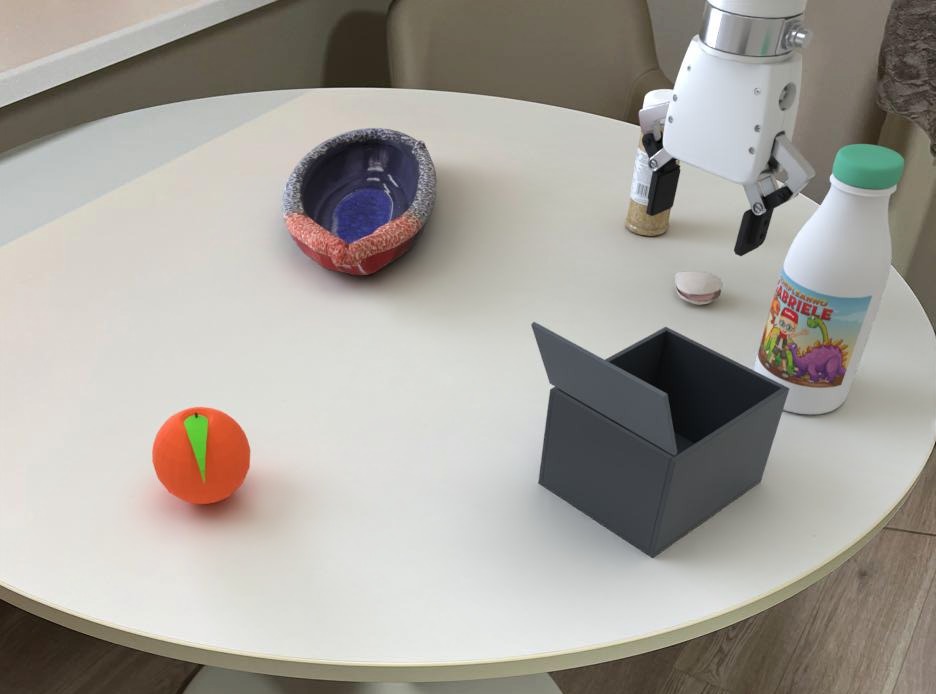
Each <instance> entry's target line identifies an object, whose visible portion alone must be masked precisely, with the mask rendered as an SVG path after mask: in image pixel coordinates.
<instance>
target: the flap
mask: <svg viewBox="0 0 936 694" xmlns="http://www.w3.org/2000/svg"><path fill="white" fill-rule="evenodd" d="M530 325H531V330H532V332H533V335H534V338H535V341H536V344H537V348H538V352H539V354H540V357H541V361H542V364H543V367H544V370H545V374H546V376H547V379H548V382H549V384H550V385H551V386H553V387H557V388H558V389H560V390H562V391H564V392H565V393H567V394H569V395H571V396H572V397H574V398H576V399H577V400H579V401H581V402H583V403H584V404H586V405H588V406H590V407H591V408H593V409H595V410H596V411H598V412H600V413H602V414H603V415H605V416H607V417H608V418H610V419H612V420H614V421H615V422H617V423H619V424H621V425H622V426H624V427H626V428H627V429H629V430H631V431H633V432H634V433H636V434H638V435H640V436H641V437H643V438H645V439H646V440H648V441H650V442H652V443H653V444H655V445H657V446H658V447H660V448H662V449H664V450H665V451H667V452H669V453H671V454H672V455H674V456H675V455H676V454H677V447H676V441H675V436H674V430H673V424H672V418H671V412H670V406H669V400H668V394H667V393H665V392H663V391H661V390H659V389H657V388H656V387H654V386H652V385H650V384H648V383H646V382H645V381H643V380H641V379H639V378H637V377H635V376H633V375H632V374H630V373H628V372H626V371H624V370H622V369H621V368H619V367H617V366H615V365H613V364H611V363H609V362H608V361H606V360H605V359H604V358H602V357H601V356H598V355H597V354H594V353H593V352H591V351H590V350H588V349H585V348H584V347H582V346H580V345H579V344H576V343H574V342H573V341H571V340H569V339H567V338H565V337H563V336H561V335H560V334H558V333H556V332H554V331H552V330H550V329H549V328H546V326H544V325H541V324H540V323H538V322H536V321H532V323H531V324H530Z"/></svg>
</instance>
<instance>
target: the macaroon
mask: <svg viewBox="0 0 936 694" xmlns="http://www.w3.org/2000/svg"><path fill="white" fill-rule="evenodd" d="M674 285H675V290H676V293H677V295H678V297H680V299H681V300H683V301H685V302H687V303H690V304H691V305H698V306H702V305H708V304H710V303H712V302H714V301H716V300H717V299H719V297H720V296H721V293H722V288H723V286H724V285H723V282H722V279H721V278H720V277H718V276H717V275H715V274H712V273H709V272H707V271H699V270H698V271H697V270H692V271H691V270H690V271H679V272H677V273H675V276H674Z"/></svg>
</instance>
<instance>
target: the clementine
mask: <svg viewBox="0 0 936 694" xmlns="http://www.w3.org/2000/svg"><path fill="white" fill-rule="evenodd" d="M151 452H152V456H151V457H152V460H151V461H152V465H153V468H154V471H155V474H156V477H157V479H158V480H159V482H160V483H161V484H162V486H163V487H164V488H165V489H166V490H167V491H168V493H170V494H171V495H173V496H175V497H176V498H177V499H179V500H181V501H183V502H186V503H189V504H195V505H209V504H214V503H218V502H221V501H223V500H225V499H227V498H229V497H230V496H232V495H233V494H234V493H235V492H236V491H237V490H238V489H239V487H241V486H242V484H244V482H245V479H246V478H247V474H248V472H249V470H250V468H251V467H250V466H251V447H250V443H249V439H248V437H247V434H246V433H245V431H244V429H243V428H242V427H241V425H240V424H239V423H238V421H236V420H235V419H234V418H233V417H231V416H230V415H228V414H227V413H226V412H223V411H222V410H219V409H217V408H212V407H206V406H195V407H189V408H185V409H183V410H181V411H178V412H176V413H174V414H173V415H171V416H170V417H169V418H167V420H166V421H164V423H163V424H162V425H161V426H160V427H159V429H158V431H157V433H156V435H155V438H154V441H153V444H152V451H151Z"/></svg>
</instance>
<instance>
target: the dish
mask: <svg viewBox="0 0 936 694" xmlns="http://www.w3.org/2000/svg"><path fill="white" fill-rule="evenodd" d="M436 171H437V170H436V168H435V164H434V162H433V159H432V157H431V155H430V151H429V150H428V148H427V146H426V142H425V141H424V140H417V139H416V138H414V137H413V136H410V135H409V134H407V133H404V132H401V131H398V130H394V129H390V128H382V127H368V128H359V129H358V128H357V129H354V130H350V131H346V132H343V133H340V134H338V135H335V136H332V137H330V138H328V139H326V140H325V141H322V142H321V143H319V144H317V145H316V146H315V147H313V148H312V149H311V150H310V151H309V152H307V153H306V154H305V155H304V156H303V157H302V158H301V160H300V161H299V162H298V163H297V164H296V166H294V168H293V170H292V172H291V173H290V175H289V177H288V179H287V181H286V183H285V186H284V189H283V193H282V199H281V213H282V219H283V222H284V224H285V227H286V228H287V230H288V231H289V233H290V236H291V238H292V240H293V241H294V243H295V244H296V245H297V246H298V248H299V249H300V250H301V251H302V253H304V254H305V255H306V256H307V257H309V258H310V259H312V260H314V261H315V262H316V263H318V265H320V266H321V267H323V268H324V269H328V270H332V271H337V272H341V273H345V274H350V275H355V276H356V275H357V276H365V275H372V274H374V273H376V272H378V271H380V269H382V268H383V267H385V266H387V265H389V264H390V263H392V262H393V261H395V260H397V259H398V258H400V257H401V256H403V255H404V254H405V253H407V252H408V251H409V250H410V249H411V248H412V247H413V246H414V245H415V243H416V242H417V240H418V239H419V238H420V236H421V234H422V233H423V231H424V229H425V227H426V225H427V222H428V219H429V218H430V215H431V213H432V211H433V208H434V205H435V201H436V197H437V185H438V179H437V172H436Z"/></svg>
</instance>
